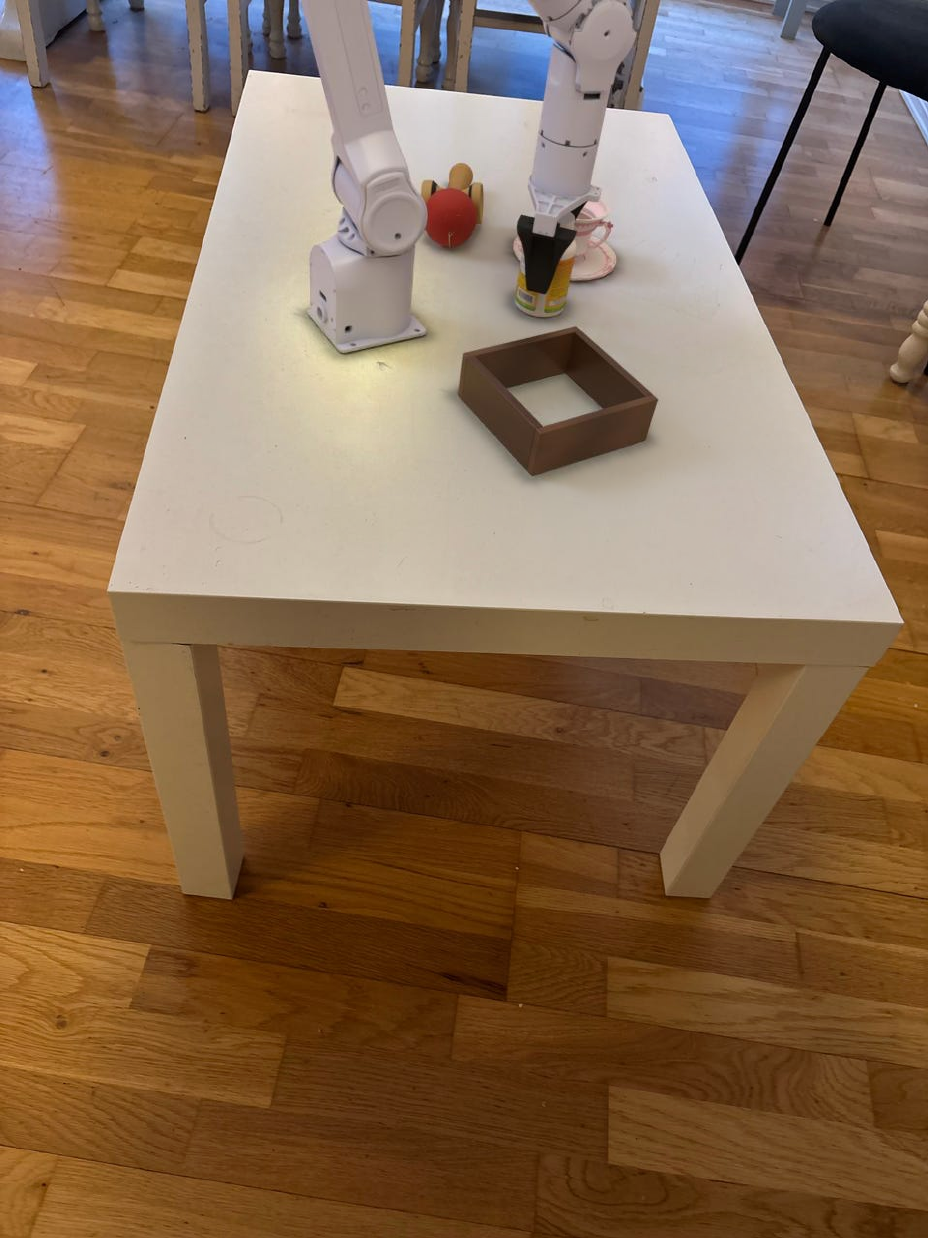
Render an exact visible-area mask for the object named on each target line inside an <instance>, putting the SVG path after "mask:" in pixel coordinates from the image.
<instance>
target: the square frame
mask: <svg viewBox="0 0 928 1238" xmlns="http://www.w3.org/2000/svg"><path fill="white" fill-rule="evenodd" d="M564 373H565V374H566V375H567V376H568V377H569V378H570V379H572V381H574V382H575V383H576V385H578V386H579V387H580V388H581V389H582V390H583V391H584V392H585V394H588V396H589V397H590V398H591V399H593V401H595V402H596V404H598V405H599V406H600V407H601V409H598V410H595V411H592V412H587V413H585V414H582V415H577V416H575V417H571V418H568V419H564V420H560V421H557V422H554V423H550V424H547V425H543V424H541V423H542V422H540V421H539V420H538V419H537V418H536V417H535V416H534V415H533V414H532V413H531V412H530V411H529V410H528V409H527V408H526V407H525V406H524V404H522V403H521V402H520V401H519V400H518V399H517V398H516V396H514V394H512V392H511V391H509V388H511V387H515V386H519V385H523V384H526V383H531V382H535V381H538V380H541V379H545V378H550V377H553V376H556V375H557V376H558V375H560V374H564ZM457 396H458V397H459V398H460V399H461V400H462V402H463V403H464V404H465V405H466V407H468V408H469V409H470V411H472V413H473V414H474V415H475V416H476V417H477V418H478V419H479V420H480V421H481V423H482V424H483V425H484V426H485V427H486V428H487V429H488V430H489V431H490V432H491V433H492V434H493V435H494V437H495V438H496V439H497V440H498V441H499V442H500V443H501V444H502V446H504V447H505V448H506V450H507V451H508V452H509V453H510V454H511V455H512V457H514V458H515V459H516V460H517V462H518V463H519V464H520V465H521V466H522V467H523V468H524V469H525V470H526V471H527V472H528V474H530V476H536V475H539V474H542V473H545V472H548V471H552V470H556V469H559V468H561V467H564V466H568V465H571V464H575V463H578V462H580V461H584V460H587V459H590V458H593V457H596V456H597V457H598V456H600V455H603V454H605V453H606V454H607V453H609V452H612V451H613V452H614V451H616V450H618V449H622V448H625V447H628V446H632V445H635V444H638V443H641V442H644V441H646V439H647V436H648V433H649V431H650V427H651V424H652V421H653V418H654V414H655V411H656V409H657V405H658V402H659V398H658V397H657V396H655V394H653V393H652V392H651V390H649V389H648V388H647V387H646V386H644V384H642V383H641V382H640V381H639V380H638V379H636V377H634V376H633V375H632V374H631V373H630V372H629V371H627V369H625V368H624V367H623V366H622V365H621V364H620V363H618V362H617V360H615V359H614V358H613V357H612V356H610V354H609V353H607V352H606V351H605V350H604V349H603V348H602V347H601V346H599V345H598V344H597V343H596V342H595V341H594V340H592V338H590V336H588V335H587V334H586V333H585V332H584V331H583V330H581V329H580V328H579V327H578V326H576V325H574V326H571V327H566V328H562V329H558V330H555V331H550V332H546V333H542V334H537V335H533V336H529V337H524V338H520V339H516V340H513V341H507V342H505V343H504V342H503V343H500V344H496V345H491V346H488V347H483V348H479V349H475V350H471V351H470V350H469V351H466V352H463V353H462V358H461V365H460V375H459V382H458V391H457Z"/></svg>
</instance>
